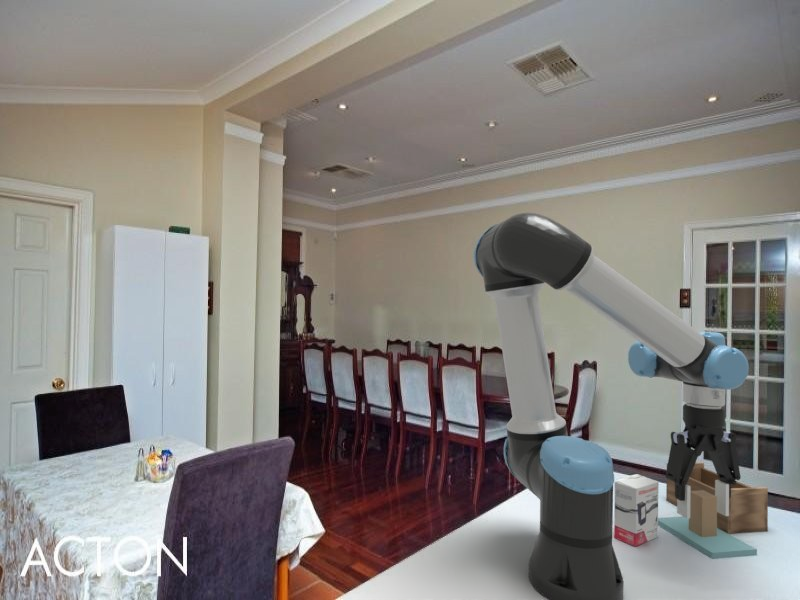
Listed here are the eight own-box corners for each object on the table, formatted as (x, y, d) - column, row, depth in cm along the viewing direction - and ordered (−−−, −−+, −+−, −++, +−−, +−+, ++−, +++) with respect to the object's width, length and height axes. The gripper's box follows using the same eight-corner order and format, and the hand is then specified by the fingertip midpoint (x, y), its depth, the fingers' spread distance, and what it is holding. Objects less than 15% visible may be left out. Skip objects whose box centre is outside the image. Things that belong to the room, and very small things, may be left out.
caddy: (727, 533, 101) (727, 490, 101) (666, 500, 119) (666, 463, 119) (767, 531, 103) (767, 488, 103) (701, 498, 121) (701, 462, 121)
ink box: (636, 547, 94) (636, 487, 94) (612, 537, 98) (613, 480, 99) (659, 537, 99) (659, 480, 99) (635, 528, 103) (636, 473, 103)
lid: (712, 560, 90) (712, 510, 91) (655, 525, 106) (655, 481, 106) (756, 557, 92) (757, 507, 93) (694, 522, 107) (694, 479, 108)
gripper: (672, 409, 94) (671, 525, 94) (763, 408, 98) (762, 519, 97) (646, 402, 102) (645, 509, 101) (731, 401, 105) (731, 504, 105)
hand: (702, 514), depth 99 cm, fingers open, 8 cm apart
